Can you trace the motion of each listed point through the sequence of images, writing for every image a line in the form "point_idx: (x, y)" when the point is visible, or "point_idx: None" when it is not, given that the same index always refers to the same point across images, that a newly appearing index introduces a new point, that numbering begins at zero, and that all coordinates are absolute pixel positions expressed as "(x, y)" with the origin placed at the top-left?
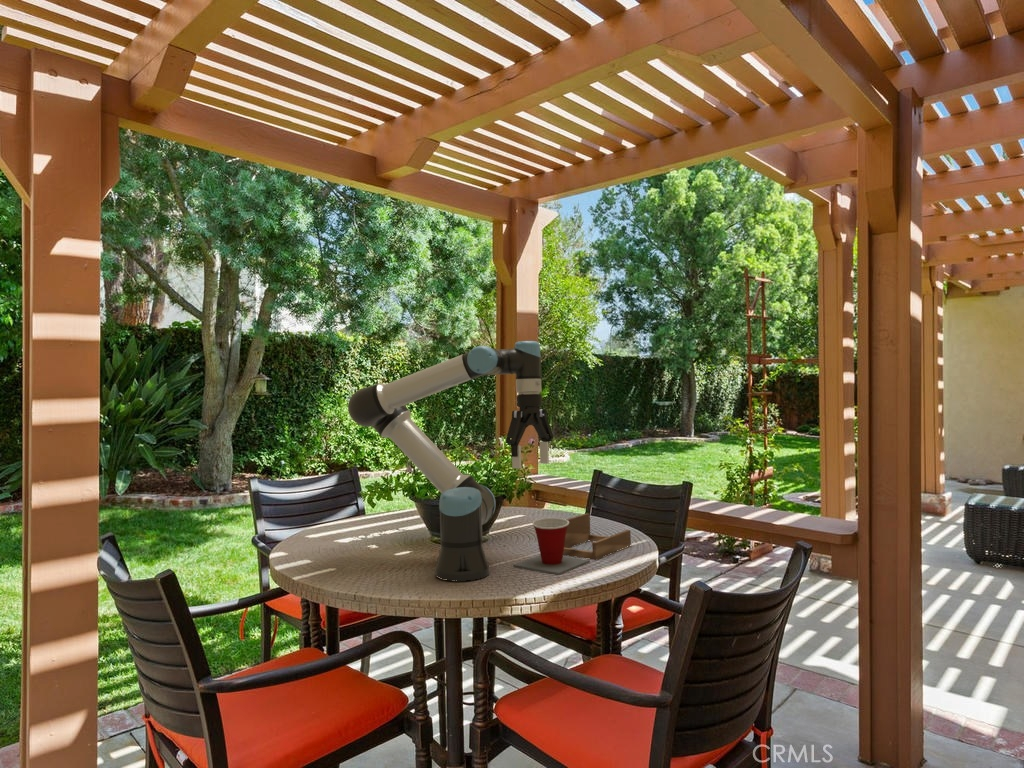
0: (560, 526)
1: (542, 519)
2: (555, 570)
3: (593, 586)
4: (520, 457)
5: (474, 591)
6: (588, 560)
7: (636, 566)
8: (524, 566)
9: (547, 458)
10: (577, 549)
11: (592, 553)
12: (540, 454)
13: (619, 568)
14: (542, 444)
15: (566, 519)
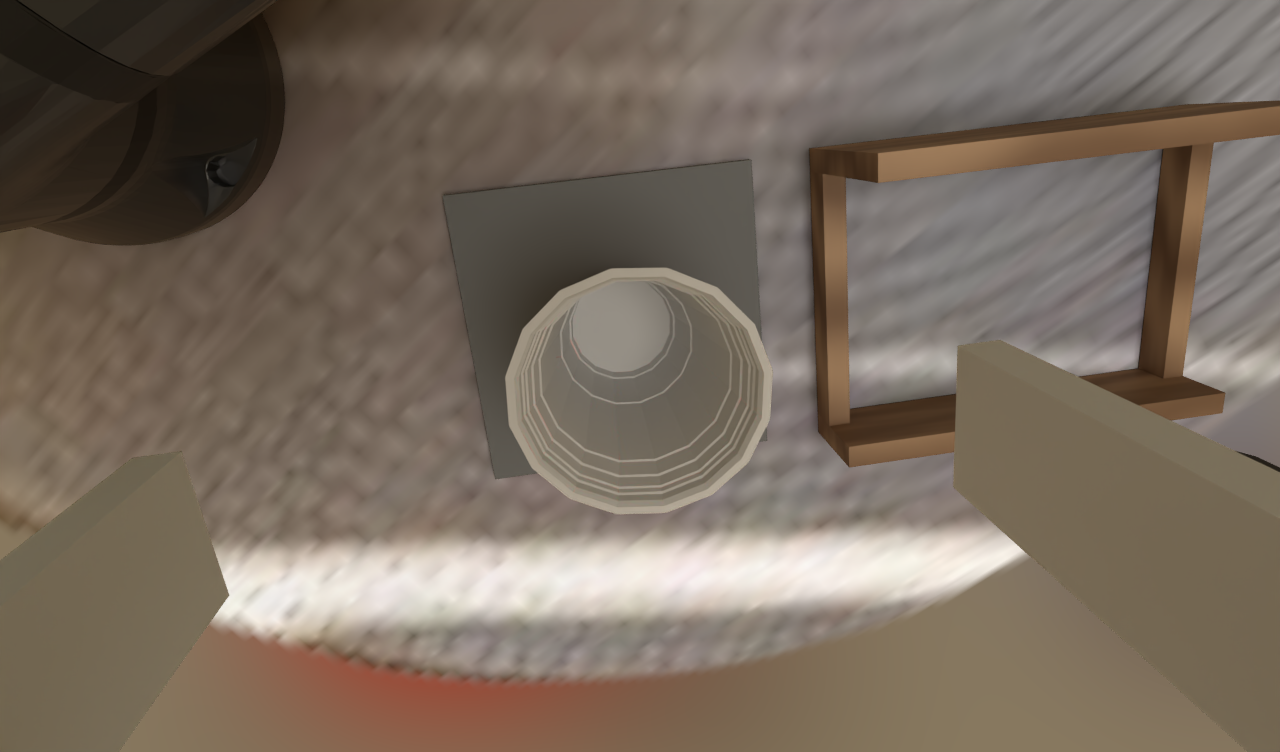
0: (606, 507)
1: (682, 284)
2: (515, 441)
3: (470, 671)
4: (114, 733)
5: (5, 373)
6: (760, 438)
7: (823, 616)
8: (461, 271)
9: (1007, 528)
10: (846, 320)
11: (828, 423)
12: (1057, 411)
13: (755, 588)
14: (1236, 595)
15: (1078, 135)
